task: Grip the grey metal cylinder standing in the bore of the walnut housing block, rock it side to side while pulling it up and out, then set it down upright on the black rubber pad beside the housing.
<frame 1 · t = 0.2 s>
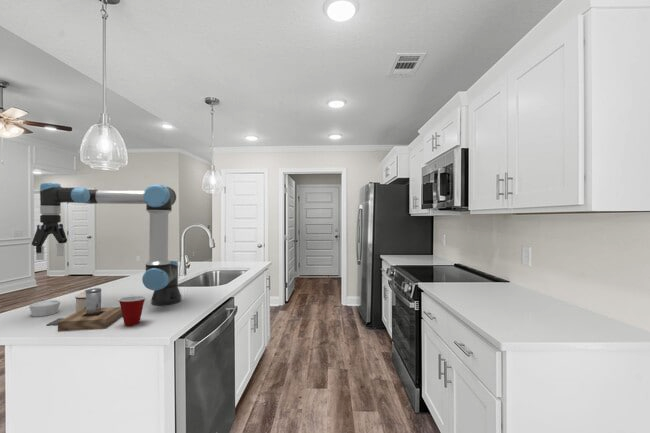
hand: (50, 257, 150), 28 cm above the countertop, fingers open, 13 cm apart
grey metal cylinder: (93, 306, 140), in the housing
housing: (93, 322, 140), on the countertop
teacup with lid: (89, 312, 154), on the countertop
pad: (62, 322, 140), on the countertop
plastic cup: (132, 324, 138), on the countertop
ramekin: (45, 314, 151), on the countertop
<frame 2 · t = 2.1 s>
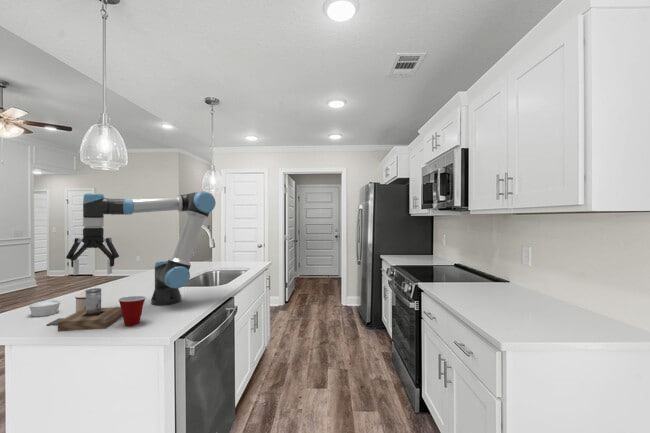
hand: (93, 274, 139), 22 cm above the countertop, fingers open, 13 cm apart
nothing on the countertop moved.
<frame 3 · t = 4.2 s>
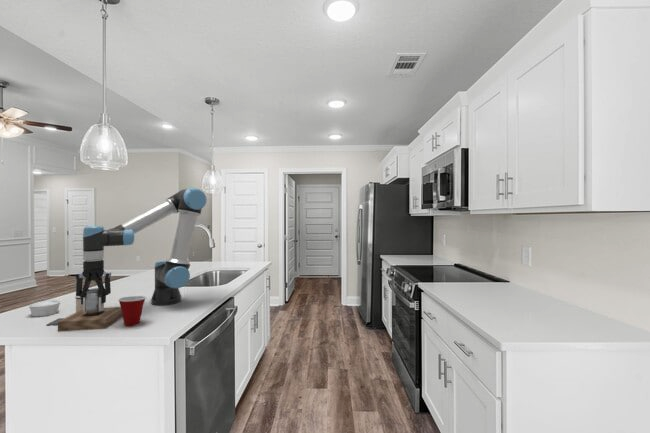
hand: (93, 310, 140), 5 cm above the countertop, fingers closed on grey metal cylinder, 6 cm apart
grey metal cylinder: (93, 306, 140), in the housing, touching gripper
everything else where it was.
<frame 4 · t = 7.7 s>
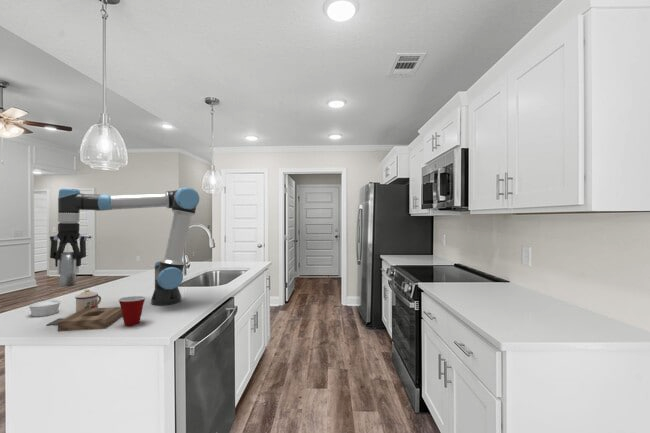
hand: (68, 273, 139), 22 cm above the countertop, fingers closed on grey metal cylinder, 6 cm apart
grey metal cylinder: (68, 268, 139), point 24 cm above the countertop, touching gripper
everything else where it was.
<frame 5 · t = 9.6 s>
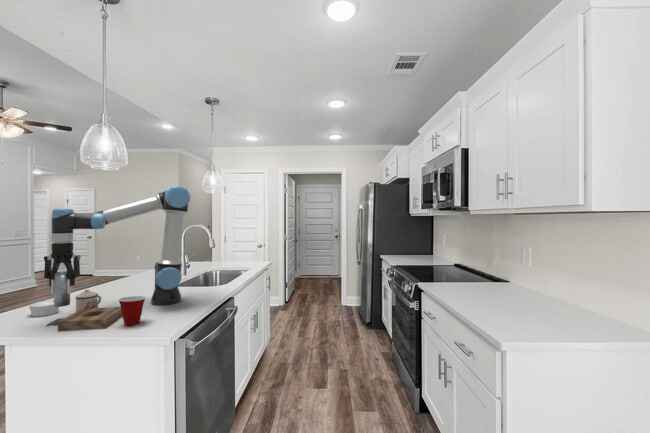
hand: (62, 293, 140), 13 cm above the countertop, fingers closed on grey metal cylinder, 6 cm apart
grey metal cylinder: (62, 288, 140), point 15 cm above the countertop, touching gripper
everything else where it was.
when the fingers open (7 cm above the countertop, at t = 11.1 s): grey metal cylinder stays where it is, resting on pad.
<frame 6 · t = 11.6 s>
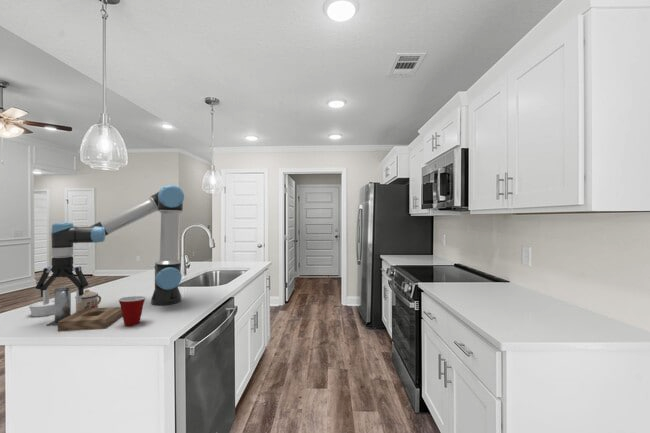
hand: (62, 303, 140), 9 cm above the countertop, fingers open, 12 cm apart
grey metal cylinder: (62, 304, 140), on the pad, point 8 cm above the countertop
everything else where it was.
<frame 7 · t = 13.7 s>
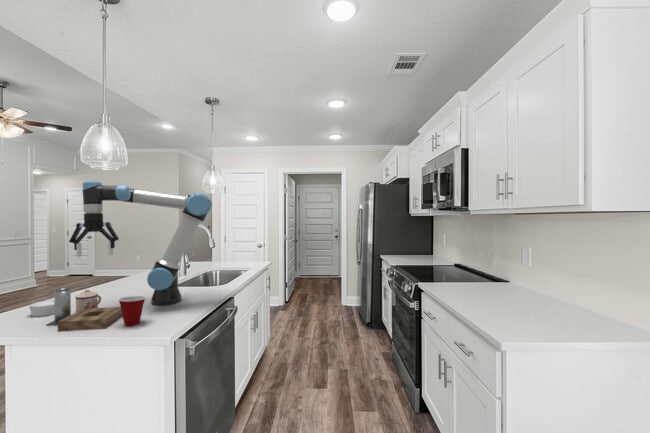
hand: (95, 255, 151), 29 cm above the countertop, fingers open, 13 cm apart
nothing on the countertop moved.
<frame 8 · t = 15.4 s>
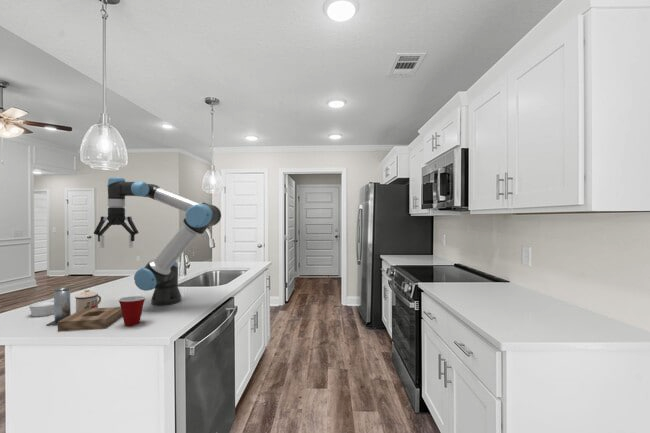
hand: (116, 247, 161), 32 cm above the countertop, fingers open, 13 cm apart
nothing on the countertop moved.
at the end: grey metal cylinder inside the target area on the pad (0.0 cm from its centre), point 8.1 cm above the pad's base; grey metal cylinder tilted 1°; the gripper is holding nothing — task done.
